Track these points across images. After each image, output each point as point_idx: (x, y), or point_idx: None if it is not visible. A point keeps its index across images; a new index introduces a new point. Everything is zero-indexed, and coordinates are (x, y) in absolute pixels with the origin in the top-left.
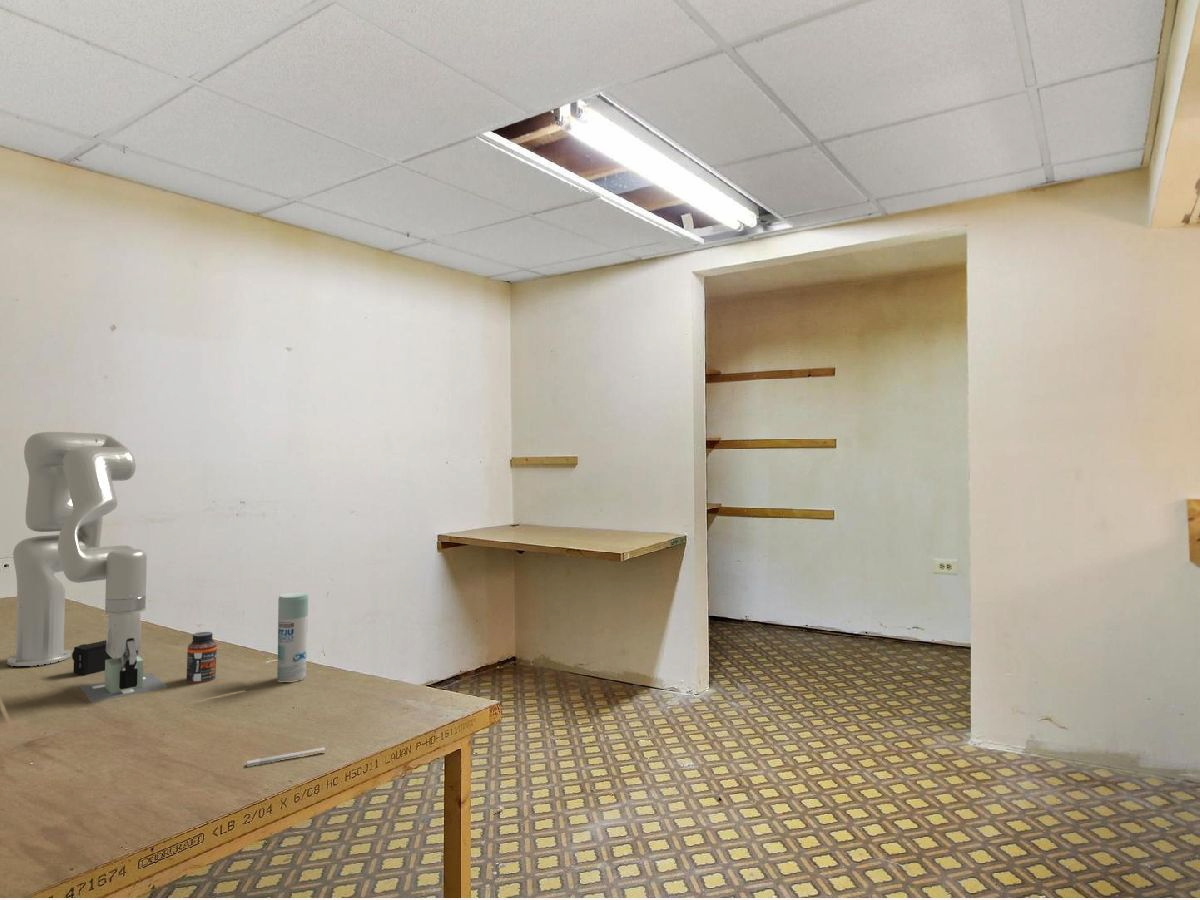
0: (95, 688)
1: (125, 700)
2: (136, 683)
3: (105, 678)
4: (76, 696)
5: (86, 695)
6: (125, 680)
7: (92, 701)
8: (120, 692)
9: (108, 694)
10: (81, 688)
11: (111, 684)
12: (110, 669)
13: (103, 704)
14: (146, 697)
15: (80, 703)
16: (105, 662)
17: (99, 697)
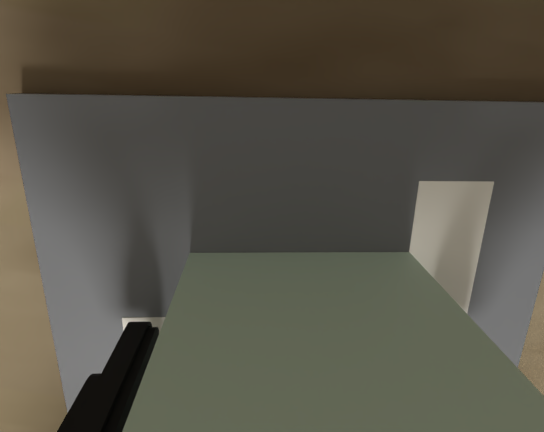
0: (414, 192)
1: (16, 298)
2: None
3: (411, 288)
4: (381, 47)
5: (262, 100)
6: (74, 402)
7: (37, 105)
8: (165, 306)
9: (167, 236)
10: (510, 107)
11: (179, 293)
12: (176, 395)
13: (2, 168)
14: (8, 398)
15: (146, 33)
16: (533, 410)
17: (125, 170)
